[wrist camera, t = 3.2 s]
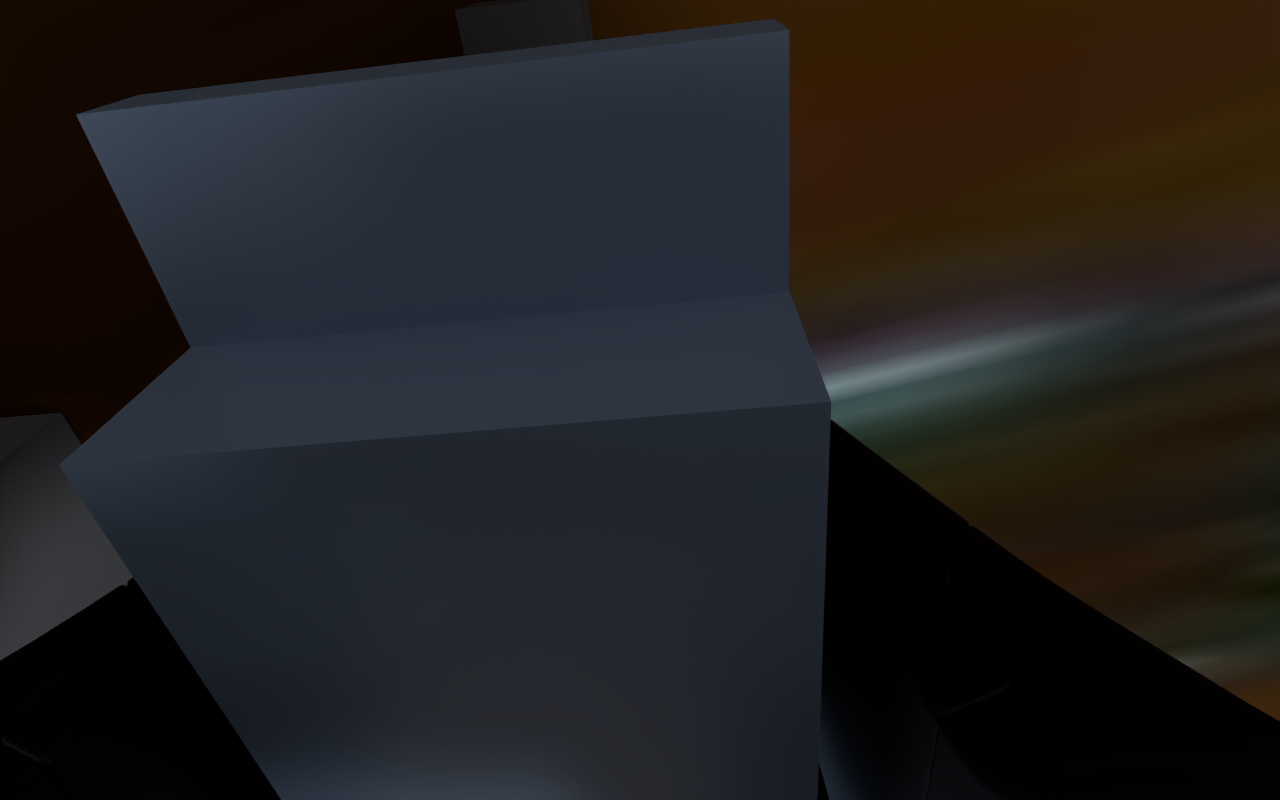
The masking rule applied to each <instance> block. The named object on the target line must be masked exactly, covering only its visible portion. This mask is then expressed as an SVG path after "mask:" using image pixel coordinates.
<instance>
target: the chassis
mask: <svg viewBox="0 0 1280 800" xmlns="http://www.w3.org/2000/svg"><path fill="white" fill-rule="evenodd" d="M80 446H81V443H80V441H79V440H78V438H77V437H76V435H75V434H74V432H73V430H72V429H71V427H70V426H69V424H68V422H67V421H66V419H65V418H64V416H63V415H62V413H50V414H39V415H27V416H16V417H5V418H0V660H2V659H3V658H5V657H7V656H8V655H10V654H12V653H13V652H15V651H17V650H18V649H20V648H22V647H23V646H25V645H27V644H28V643H30V642H32V641H33V640H35V639H37V638H38V637H40V636H41V635H43V634H45V633H46V632H48V631H49V630H51V629H52V628H54V627H56V626H57V625H59V624H60V623H62V622H64V621H65V620H67V619H68V618H70V617H72V616H73V615H75V614H76V613H78V612H80V611H81V610H83V609H84V608H86V607H87V606H89V605H91V604H92V603H94V602H95V601H97V600H98V599H100V598H101V597H103V596H104V595H106V594H107V593H109V592H111V591H112V590H114V589H115V588H117V587H118V586H120V585H126V586H127V583H128V580H129V579H131V578H132V577H133V576H132V574H131V573H130V571H129V570H128V568H127V567H126V565H125V564H124V562H123V561H122V559H121V558H120V556H119V555H118V553H117V552H116V550H115V549H114V547H113V546H112V544H111V543H110V541H109V540H108V538H107V537H106V535H105V534H104V532H103V531H102V529H101V528H100V526H99V525H98V523H97V522H96V520H95V519H94V517H93V516H92V514H91V513H90V511H89V510H88V508H87V507H86V505H85V504H84V502H83V501H82V499H81V498H80V496H79V495H78V493H77V492H76V490H75V489H74V487H73V486H72V484H71V483H70V481H69V480H68V478H67V477H66V475H65V474H64V472H63V471H62V469H61V468H60V466H59V465H60V464H61V463H62V462H63V461H64V460H65V459H67V458H68V457H69V456H70V455H71V454H72V453H73V452H74V451H75V450H77V449H78V448H79V447H80Z"/></svg>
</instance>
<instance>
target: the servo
mask: <svg viewBox="0 0 1280 800" xmlns="http://www.w3.org/2000/svg"><path fill="white" fill-rule="evenodd" d="M455 14H456V18H457V23H458V28H459V32H460V37H461V42H462V46H463V51H464V55H465V56H460V57H451V58H443V59H435V60H426V61H418V62H410V63H401V64H393V65H385V66H376V67H368V68H360V69H351V70H343V71H334V72H326V73H318V74H309V75H301V76H293V77H284V78H276V79H268V80H259V81H251V82H243V83H234V84H226V85H217V86H209V87H201V88H192V89H184V90H176V91H167V92H159V93H151V94H142V95H137V96H134V97H130V98H127V99H124V100H121V101H118V102H115V103H111V104H108V105H105V106H102V107H99V108H95V109H92V110H89V111H86V112H83V113H79V114H76V116H77V118H78V120H79V122H80V124H81V126H82V128H83V130H84V132H85V134H86V136H87V138H88V140H89V142H90V144H91V146H92V148H93V150H94V152H95V154H96V156H97V158H98V160H99V162H100V164H101V166H102V168H103V170H104V173H105V175H106V177H107V179H108V181H109V183H110V185H111V187H112V189H113V191H114V193H115V195H116V197H117V199H118V201H119V203H120V205H121V207H122V209H123V211H124V213H125V215H126V217H127V219H128V221H129V223H130V225H131V227H132V229H133V231H134V233H135V235H136V237H137V240H138V242H139V244H140V246H141V248H142V250H143V252H144V254H145V256H146V258H147V260H148V262H149V264H150V266H151V268H152V270H153V272H154V274H155V276H156V278H157V280H158V282H159V284H160V286H161V288H162V290H163V292H164V294H165V296H166V298H167V300H168V302H169V305H170V307H171V309H172V311H173V313H174V315H175V317H176V319H177V321H178V323H179V325H180V327H181V329H182V331H183V333H184V335H185V337H186V339H187V341H188V343H189V345H190V347H191V348H190V349H188V350H187V351H186V352H185V353H184V354H183V355H182V356H181V357H180V358H178V359H177V360H176V361H175V362H174V363H173V364H172V365H171V366H169V367H168V368H167V369H166V370H165V371H164V372H163V373H162V374H161V375H159V376H158V377H157V378H156V379H155V380H154V381H153V382H152V383H150V384H149V385H148V386H147V387H146V388H145V389H144V390H143V391H141V392H140V393H139V394H138V395H137V396H136V397H135V398H134V399H133V400H131V401H130V402H129V403H128V404H127V405H126V406H125V407H124V408H122V409H121V410H120V411H119V412H118V413H117V414H116V415H115V416H114V417H112V418H111V419H110V420H109V421H108V422H107V423H106V424H105V425H103V426H102V427H101V428H100V429H99V430H98V431H97V432H96V433H94V434H93V435H92V436H91V437H90V438H89V439H88V440H87V441H86V442H84V443H83V444H82V445H81V446H80V447H79V448H78V449H77V450H75V451H74V452H73V453H72V454H71V455H70V456H69V457H68V458H67V459H65V460H64V461H63V462H62V463H61V464H60V465H59V466H60V468H61V469H62V471H63V472H64V474H65V475H66V477H67V478H68V480H69V481H70V483H71V484H72V486H73V487H74V489H75V490H76V492H77V493H78V495H79V496H80V498H81V499H82V501H83V502H84V504H85V505H86V507H87V508H88V510H89V511H90V513H91V514H92V516H93V517H94V519H95V520H96V522H97V523H98V525H99V526H100V528H101V529H102V531H103V532H104V534H105V535H106V537H107V538H108V540H109V541H110V543H111V544H112V546H113V547H114V549H115V550H116V552H117V553H118V555H119V556H120V558H121V559H122V561H123V562H124V564H125V565H126V567H127V568H128V570H129V571H130V573H131V574H132V576H133V577H134V579H135V580H136V582H137V583H138V585H139V586H140V588H141V589H142V591H143V592H144V594H145V595H146V597H147V598H148V600H149V601H150V603H151V604H152V606H153V607H154V609H155V610H156V612H157V614H158V615H159V617H160V618H161V620H162V621H163V623H164V624H165V626H166V627H167V629H168V630H169V632H170V633H171V635H172V636H173V638H174V639H175V641H176V642H177V644H178V645H179V647H180V648H181V650H182V651H183V653H184V654H185V656H186V657H187V659H188V660H189V662H190V663H191V665H192V666H193V668H194V669H195V671H196V672H197V674H198V675H199V677H200V678H201V680H202V681H203V683H204V684H205V686H206V687H207V689H208V690H209V692H210V693H211V695H212V696H213V698H214V699H215V701H216V702H217V704H218V705H219V707H220V708H221V710H222V711H223V713H224V714H225V716H226V717H227V719H228V720H229V722H230V723H231V725H232V726H233V728H234V729H235V731H236V732H237V734H238V735H239V737H240V738H241V740H242V741H243V743H244V744H245V746H246V747H247V749H248V750H249V752H250V753H251V755H252V756H253V758H254V759H255V761H256V762H257V764H258V765H259V767H260V769H261V770H262V772H263V773H264V775H265V776H266V778H267V779H268V781H269V782H270V784H271V785H272V787H273V788H274V790H275V791H276V793H277V794H278V796H279V797H280V799H281V800H817V797H818V768H819V739H820V710H821V681H822V652H823V623H824V594H825V564H826V535H827V506H828V477H829V448H830V419H831V400H830V398H829V395H828V392H827V390H826V387H825V384H824V382H823V379H822V376H821V374H820V371H819V369H818V366H817V363H816V361H815V358H814V355H813V353H812V350H811V347H810V345H809V342H808V339H807V337H806V334H805V331H804V329H803V326H802V324H801V321H800V318H799V316H798V313H797V310H796V308H795V305H794V302H793V300H792V297H791V294H790V292H789V30H788V29H787V28H786V27H784V26H783V25H781V24H780V23H779V22H777V21H776V20H774V19H769V20H761V21H752V22H744V23H736V24H727V25H719V26H710V27H702V28H694V29H685V30H677V31H669V32H660V33H652V34H644V35H635V36H627V37H619V38H610V39H602V40H593V34H592V27H591V19H590V11H589V3H588V0H496V1H488V2H480V3H472V4H470V5H467V6H464V7H462V8H459V9H457V10H455Z"/></svg>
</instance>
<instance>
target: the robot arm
mask: <svg viewBox="0 0 1280 800" xmlns="http://www.w3.org/2000/svg"><path fill="white" fill-rule="evenodd" d="M819 764H820V768H818V797H817V800H1280V721H1278V720H1276V719H1275V718H1273V717H1271V716H1269V715H1268V714H1266V713H1264V712H1262V711H1261V710H1259V709H1257V708H1255V707H1254V706H1252V705H1250V704H1248V703H1247V702H1245V701H1243V700H1242V699H1240V698H1239V697H1237V696H1235V695H1234V694H1232V693H1230V692H1229V691H1227V690H1225V689H1224V688H1222V687H1221V686H1219V685H1217V684H1216V683H1214V682H1212V681H1211V680H1209V679H1208V678H1206V677H1204V676H1203V675H1201V674H1199V673H1198V672H1196V671H1195V670H1193V669H1191V668H1190V667H1188V666H1186V665H1185V664H1183V663H1182V662H1180V661H1178V660H1177V659H1175V658H1173V657H1172V656H1170V655H1168V654H1167V653H1165V652H1164V651H1162V650H1160V649H1159V648H1157V647H1155V646H1154V645H1152V644H1151V643H1149V642H1147V641H1146V640H1144V639H1142V638H1141V637H1139V636H1138V635H1136V634H1134V633H1133V632H1131V631H1129V630H1128V629H1126V628H1124V627H1123V626H1121V625H1120V624H1118V623H1116V622H1115V621H1113V620H1111V619H1110V618H1108V617H1107V616H1105V615H1103V614H1102V613H1100V612H1099V611H1097V610H1095V609H1094V608H1092V607H1091V606H1089V605H1088V604H1086V603H1084V602H1083V601H1081V600H1080V599H1078V598H1077V597H1075V596H1074V595H1072V594H1070V593H1069V592H1067V591H1066V590H1064V589H1063V588H1061V587H1060V586H1058V585H1056V584H1055V583H1053V582H1052V581H1050V580H1049V579H1047V578H1046V577H1044V576H1043V575H1041V574H1040V573H1038V572H1037V571H1036V570H1034V569H1033V568H1031V567H1030V566H1029V565H1027V564H1026V563H1024V562H1023V561H1021V560H1020V559H1019V558H1017V557H1016V556H1014V555H1013V554H1012V553H1010V552H1009V551H1007V550H1006V549H1004V548H1003V547H1002V546H1000V545H999V544H998V543H996V542H995V541H994V540H992V539H991V538H990V537H988V536H987V535H986V534H984V533H983V532H982V531H980V530H979V529H978V528H976V527H975V526H969V523H968V522H967V521H966V520H965V519H964V518H962V517H961V516H960V515H958V514H957V513H956V512H954V511H953V510H952V509H950V508H949V507H948V506H946V505H945V504H944V503H942V502H941V501H940V500H938V499H937V498H936V497H934V496H933V495H932V494H930V493H929V492H928V491H926V490H925V489H924V488H922V487H921V486H920V485H918V484H917V483H915V482H914V481H913V480H911V479H910V478H909V477H907V476H906V475H905V474H903V473H902V472H901V471H899V470H898V469H897V468H895V467H894V466H893V465H891V464H890V463H889V462H887V461H886V460H885V459H883V458H882V457H881V456H879V455H878V454H877V453H875V452H874V451H873V450H871V449H870V448H869V447H867V446H866V445H865V444H863V443H862V442H861V441H859V440H858V439H857V438H855V437H854V436H853V435H851V434H850V433H849V432H847V431H846V430H845V429H843V428H842V427H841V426H839V425H838V424H837V423H835V422H834V421H833V420H831V419H830V448H829V477H828V506H827V535H826V564H825V594H824V623H823V652H822V681H821V710H820V739H819ZM0 800H281V799H280V797H279V796H278V794H277V793H276V791H275V790H274V788H273V787H272V785H271V784H270V782H269V781H268V779H267V778H266V776H265V775H264V773H263V772H262V770H261V769H260V767H259V765H258V764H257V762H256V761H255V759H254V758H253V756H252V755H251V753H250V752H249V750H248V749H247V747H246V746H245V744H244V743H243V741H242V740H241V738H240V737H239V735H238V734H237V732H236V731H235V729H234V728H233V726H232V725H231V723H230V722H229V720H228V719H227V717H226V716H225V714H224V713H223V711H222V710H221V708H220V707H219V705H218V704H217V702H216V701H215V699H214V698H213V696H212V695H211V693H210V692H209V690H208V689H207V687H206V686H205V684H204V683H203V681H202V680H201V678H200V677H199V675H198V674H197V672H196V671H195V669H194V668H193V666H192V665H191V663H190V662H189V660H188V659H187V657H186V656H185V654H184V653H183V651H182V650H181V648H180V647H179V645H178V644H177V642H176V641H175V639H174V638H173V636H172V635H171V633H170V632H169V630H168V629H167V627H166V626H165V624H164V623H163V621H162V620H161V618H160V617H159V615H158V614H157V612H156V610H155V609H154V607H153V606H152V604H151V603H150V601H149V600H148V598H147V597H146V595H145V594H144V592H143V591H142V589H141V588H140V586H139V585H138V583H137V582H136V580H135V579H134V577H132V578H131V579H129V580H128V583H127V586H126V585H120V586H118V587H117V588H115V589H114V590H112V591H111V592H109V593H107V594H106V595H104V596H103V597H101V598H100V599H98V600H97V601H95V602H94V603H92V604H91V605H89V606H87V607H86V608H84V609H83V610H81V611H80V612H78V613H76V614H75V615H73V616H72V617H70V618H68V619H67V620H65V621H64V622H62V623H60V624H59V625H57V626H56V627H54V628H52V629H51V630H49V631H48V632H46V633H45V634H43V635H41V636H40V637H38V638H37V639H35V640H33V641H32V642H30V643H28V644H27V645H25V646H23V647H22V648H20V649H18V650H17V651H15V652H13V653H12V654H10V655H8V656H7V657H5V658H3V659H2V660H0Z"/></svg>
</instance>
